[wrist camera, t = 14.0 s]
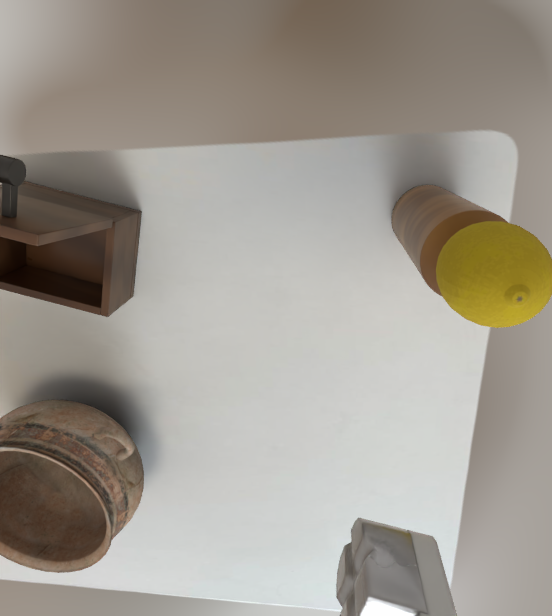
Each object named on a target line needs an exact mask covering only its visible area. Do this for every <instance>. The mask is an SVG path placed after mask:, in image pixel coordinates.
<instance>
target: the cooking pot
mask: <svg viewBox="0 0 552 616" xmlns="http://www.w3.org/2000/svg"><path fill="white" fill-rule="evenodd" d="M143 484H144V471H143V465H142V460H141V457H140V454H139V452H138V449H137V447H136V445H135V443H134V442H133V440H132V439H131V437H130V435H129V434H128V433H127V432H126V431H125V430H124V428H123V427H122V426H121V425H119V424H118V423H117V422H116V421H115V420H114V419H113V418H111V417H110V416H108V415H107V414H105V413H104V412H102V411H100V410H98V409H96V408H94V407H91V406H88V405H85V404H82V403H79V402H74V401H68V400H46V401H38V402H34V403H31V404H28V405H25V406H22V407H19V408H17V409H15V410H13V411H11V412H10V413H8V414H6V415H5V416H3V417H2V418H1V419H0V555H2V556H3V557H5V558H7V559H9V560H11V561H13V562H16V563H18V564H20V565H23V566H26V567H29V568H32V569H37V570H41V571H46V572H57V573H60V572H73V571H78V570H82V569H85V568H87V567H90V566H92V565H93V564H95V563H97V562H98V561H99V560H100V559H101V558H102V557H103V556H104V555H105V554H106V552H107V551H108V549H109V547H110V545H111V540H112V539H113V538H114V537H115V536H116V535H117V534H118V533H119V532H120V531H121V530H122V529H123V528H124V526H125V525H126V524H127V523H128V522H129V521H130V520H131V518H132V517H133V515H134V513H135V511H136V509H137V507H138V505H139V503H140V500H141V496H142V492H143Z"/></svg>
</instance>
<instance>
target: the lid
mask: <svg viewBox="0 0 552 616" xmlns="http://www.w3.org/2000/svg"><path fill="white" fill-rule="evenodd" d="M25 177H26V167H25V165H24V163H23V162H22V161H21V160H19V159H15V158H11V157H7V156H3V155H0V182H1V183H2V190H0V237H4V238H8V239H12V240H16V241H19V242H23V243H27V244H31V245H35V246H40V245H44V244H48V243H52V242H56V241H60V240H64V239H68V238H72V237H76V236H80V235H84V234H88V233H91V232H95V231H99V230H103V229H107V228H111V227H112V222H113V219H112V218H108V217H104V216H100V215H96V214H92V213H88V212H84V211H81V210H77V209H73V208H69V207H65V206H61V205H57V204H53V203H50V202H46V201H42V200H38V199H34V198H30V197H26V196H22V195H18V186H20V185H21V184H22V183H23V182H24V180H25Z"/></svg>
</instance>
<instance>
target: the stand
mask: <svg viewBox="0 0 552 616" xmlns="http://www.w3.org/2000/svg"><path fill="white" fill-rule="evenodd" d="M485 221H502V222H506V223H508V222H507V221H506V220H505V219H503V218H502V217H500V216H499V215H496V214H494V213H492V212H490V211H488V210H486V209H484V208H482V207H480V206H478V205H476V204H474V203H472V202H470V201H468V200H466V199H464V198H462V197H460V196H457V195H455V194H453V193H451V192H449V191H447V190H445V189H443V188H441V187H438V186H435V185H421V186H417V187H415V188H413V189H410V190H409V191H407V192H406V193H405V194H404V195H402V197H401V198H400V199H399V200H398V201H397V203H396V205H395V207H394V209H393V213H392V228H393V231H394V233H395V235H396V236H397V238H398V240H399V241H400V243H401V244H402V246H403V247H404V249H405V250H406V252H407V254H408V255H409V257H410V258H411V260H412V261H413V263H414V264H415V266H416V268H417V269H418V271H419V272H420V274H421V275H422V277H423V278H424V280H425V282H426V283H427V285H428V286H429V287H430V288H431V289H432V290H433V291H434V292H436V293H437V294H439V295H441V292H440V289H439V286H438V284H437V279H436V265H437V261H438V256H439V254H440V252H441V250H442V248H443V246H444V245H445V244H446V243H447V241H448V240H449V239H450V238H451V237H452V236H453V235H454V234H456V233H457V232H458V231H460V230H461V229H463V228H465V227H467V226H469V225H472V224H476V223H480V222H485ZM441 296H442V295H441Z"/></svg>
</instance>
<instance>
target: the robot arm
mask: <svg viewBox="0 0 552 616" xmlns="http://www.w3.org/2000/svg"><path fill="white" fill-rule="evenodd" d="M351 539H352V542H351V543H349V544H347V545H345V546H344V549H343V552H342V554H341V557H340V561H339V566H338V571H337V584H336V589H337V599H338V601H339V602H340V604H341V606H342V608H343V609H342V611H341V614H340V616H457V614H456V610H455V607H454V603H453V599H452V596H451V592H450V589H449V585H448V581H447V578H446V574H445V571H444V567H443V563H442V560H441V556H440V553H439V549H438V545H437V542H436V540H435V539H434V538H433V536H429V535H425V534H421V533H417V532H413V531H409V530H407V531H406V530H405V529H402V528H398V527H394V526H390V525H386V524H382V523H378V522H374V521H370V520H366V519H362V518H358V519H357V520H356V521H355V522H354V525H353V527H352V529H351Z"/></svg>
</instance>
